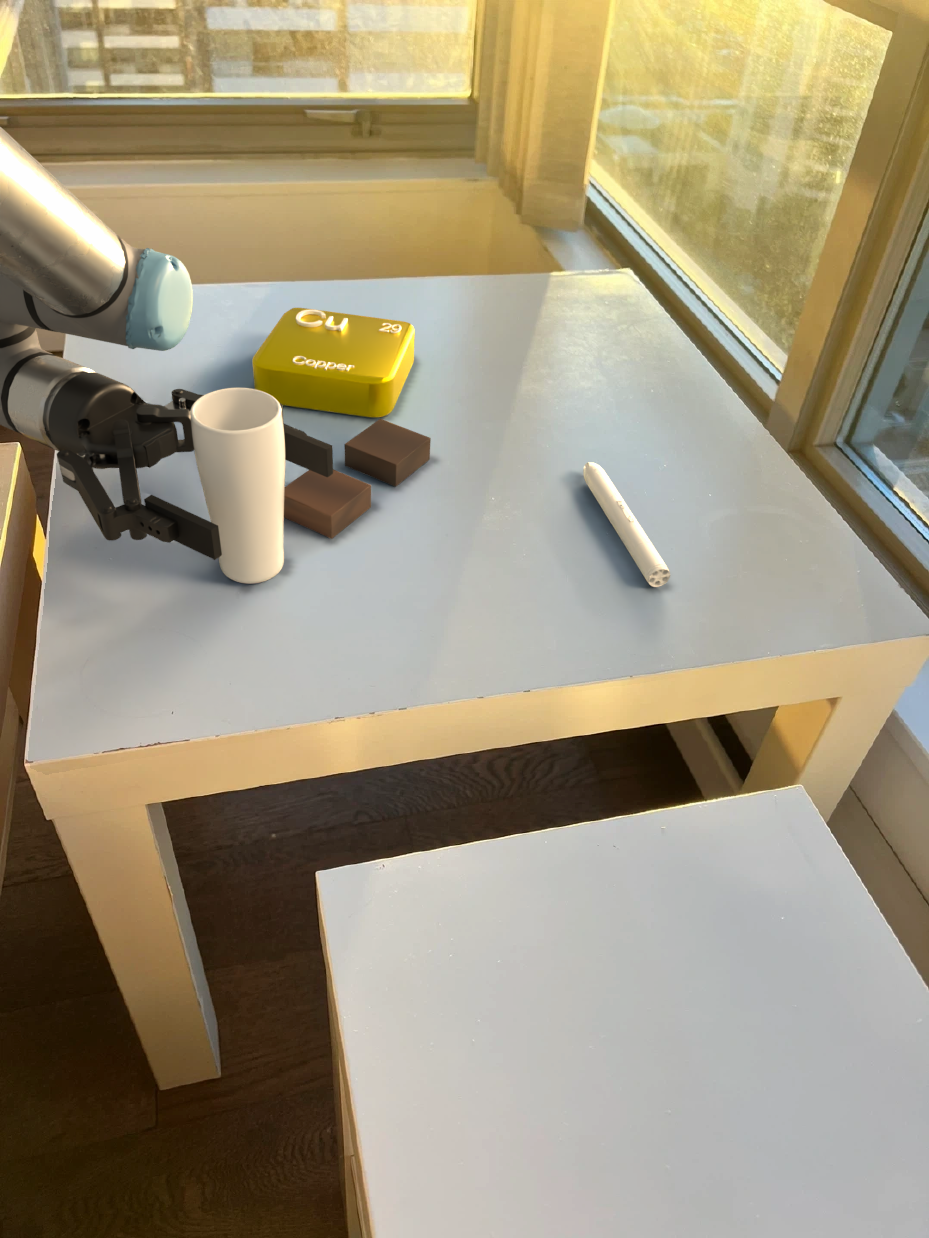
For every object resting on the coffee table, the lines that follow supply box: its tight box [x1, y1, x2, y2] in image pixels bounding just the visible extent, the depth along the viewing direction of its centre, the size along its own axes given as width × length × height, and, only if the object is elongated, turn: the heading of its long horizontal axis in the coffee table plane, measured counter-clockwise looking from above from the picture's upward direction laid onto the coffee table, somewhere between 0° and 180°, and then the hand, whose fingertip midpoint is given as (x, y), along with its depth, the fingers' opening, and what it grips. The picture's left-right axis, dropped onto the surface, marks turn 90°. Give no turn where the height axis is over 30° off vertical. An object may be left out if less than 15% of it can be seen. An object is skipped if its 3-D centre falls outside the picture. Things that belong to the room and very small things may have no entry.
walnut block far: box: [344, 418, 432, 488], centre depth 93 cm, size 6×6×2 cm
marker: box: [582, 461, 671, 588], centre depth 88 cm, size 18×2×2 cm, turn 15°
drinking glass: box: [190, 387, 286, 585], centre depth 76 cm, size 7×7×15 cm
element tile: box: [251, 307, 416, 419], centre depth 104 cm, size 15×15×5 cm
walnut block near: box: [284, 468, 372, 540], centre depth 87 cm, size 6×6×2 cm
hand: (277, 500), depth 74 cm, fingers open, 13 cm apart
